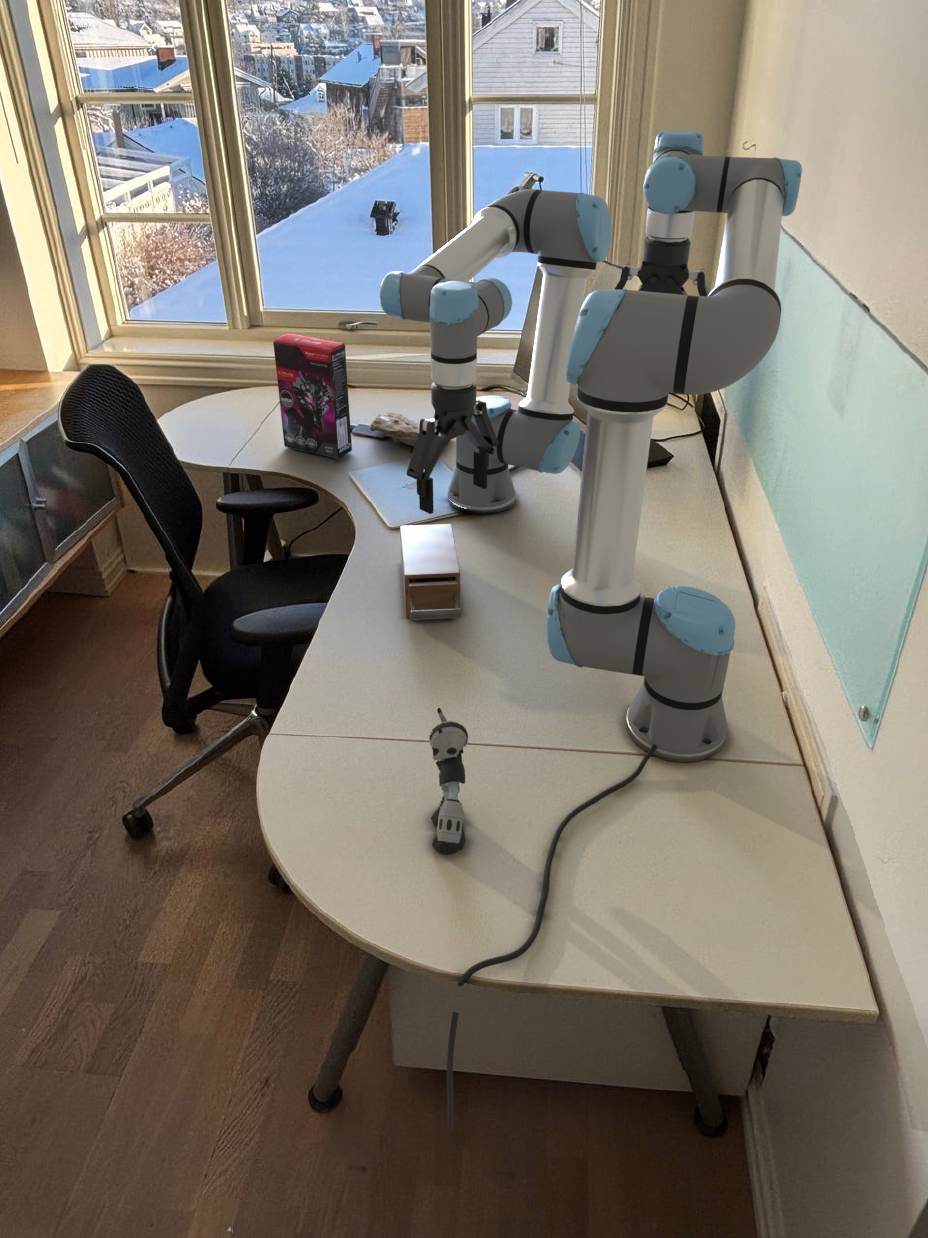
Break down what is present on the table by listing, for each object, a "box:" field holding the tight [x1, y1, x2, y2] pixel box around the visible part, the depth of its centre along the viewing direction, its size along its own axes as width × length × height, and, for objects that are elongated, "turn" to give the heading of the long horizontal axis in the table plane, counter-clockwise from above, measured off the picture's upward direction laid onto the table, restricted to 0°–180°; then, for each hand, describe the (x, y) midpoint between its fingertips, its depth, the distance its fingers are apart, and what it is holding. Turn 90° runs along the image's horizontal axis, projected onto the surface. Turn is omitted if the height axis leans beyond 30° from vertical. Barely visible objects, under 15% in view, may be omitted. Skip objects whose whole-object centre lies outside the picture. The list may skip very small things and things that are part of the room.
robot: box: [428, 707, 469, 855], centre depth 120 cm, size 20×5×20 cm, turn 3°
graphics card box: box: [272, 332, 353, 460], centre depth 223 cm, size 17×7×27 cm, turn 62°
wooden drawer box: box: [399, 523, 461, 618], centre depth 174 cm, size 19×10×9 cm, turn 6°
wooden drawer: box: [408, 577, 462, 621], centre depth 169 cm, size 24×9×7 cm, turn 6°
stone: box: [369, 412, 444, 448], centre depth 234 cm, size 21×15×6 cm
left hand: (453, 498), depth 164 cm, fingers open, 13 cm apart
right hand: (652, 364), depth 163 cm, fingers open, 13 cm apart
